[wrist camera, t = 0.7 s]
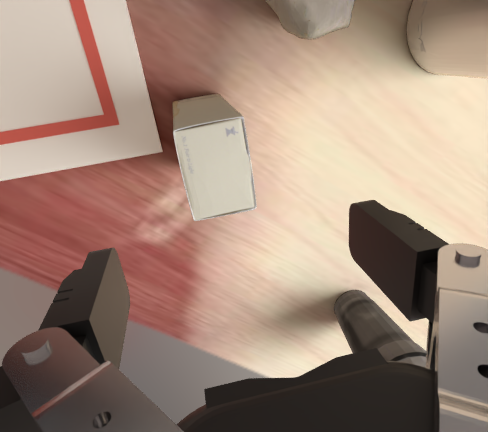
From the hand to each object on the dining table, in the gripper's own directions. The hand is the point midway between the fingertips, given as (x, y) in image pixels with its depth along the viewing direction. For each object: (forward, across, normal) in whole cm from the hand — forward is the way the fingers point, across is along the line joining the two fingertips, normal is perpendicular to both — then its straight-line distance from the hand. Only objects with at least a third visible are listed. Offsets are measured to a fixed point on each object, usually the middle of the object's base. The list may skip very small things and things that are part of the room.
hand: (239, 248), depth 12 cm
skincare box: (+23, 0, 0) cm, 23 cm away
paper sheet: (+23, +13, -7) cm, 27 cm away
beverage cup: (+23, -15, +24) cm, 36 cm away
